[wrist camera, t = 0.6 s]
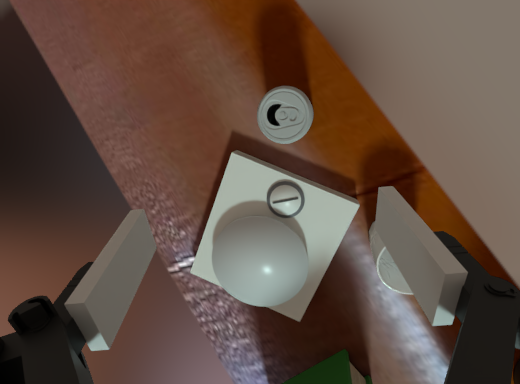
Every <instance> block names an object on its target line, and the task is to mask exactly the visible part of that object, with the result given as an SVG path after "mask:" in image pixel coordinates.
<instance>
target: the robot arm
mask: <svg viewBox="0 0 520 384" xmlns="http://www.w3.org/2000/svg"><path fill="white" fill-rule="evenodd" d="M375 230H376V232H377V233H378V235H379V237H380V238H381V240H382V242H383V243H384V245H385V247H386V248H387V250H388V252H389V254H390V255H391V257H392V259H393V260H394V262H395V264H396V265H397V267H398V269H399V271H400V272H401V274H402V276H403V277H404V279H405V281H406V282H407V284H408V286H409V287H410V289H411V291H412V293H413V294H414V296H415V298H416V299H417V301H418V303H419V304H420V306H421V308H422V309H423V311H424V313H425V315H426V316H427V318H428V320H429V321H430V323H431V325H432V326H441V325H452V323H453V320H454V317H455V314H456V316H457V317H458V319H459V320H460V321H461V323H462V324H461V327H460V330H459V333H458V336H457V339H456V344H455V347H454V351H453V354H452V358H451V361H450V364H449V368H448V371H447V375H446V378H445V382H444V384H511V377H512V368H513V360H514V352H515V348H518V349H520V291H519V290H518V289H517V288H516V287H515V286H514V285H512V284H511V283H509V282H508V281H506V280H503V279H501V278H498V277H494V276H490V275H489V274H488V272H487V271H486V270H485V269H484V268H483V267H482V266H481V265H480V264H479V263H478V262H477V261H476V260H475V259H474V258H473V257H472V256H471V255H470V254H468V251H467V250H466V249H465V248H464V247H462V245H461V244H460V243H459V242H458V241H457V240H456V239H455V238H454V237H452V236H451V235H449V234H447V233H446V232H444V231H439V232H432V230H431V229H430V228H429V227H428V226H427V225H426V224H425V222H424V221H423V220H422V219H421V218H420V217H419V215H418V214H417V213H416V212H415V211H414V210H413V209H412V207H411V206H410V205H409V204H408V203H407V202H406V201H405V199H404V198H403V197H402V196H401V195H400V194H399V192H398V191H397V190H396V189H395V188H394V187H393V186H387V187H379V189H378V199H377V210H376V220H375ZM156 248H157V246H156V243H155V240H154V237H153V234H152V232H151V229H150V226H149V223H148V220H147V217H146V214H145V211H144V209H139V210H131V211H130V212H129V213H128V215H127V216H126V218H125V219H124V220H123V222H122V223H121V225H120V226H119V228H118V229H117V230H116V232H115V233H114V235H113V236H112V237H111V239H110V240H109V242H108V243H107V245H106V246H105V247H104V249H103V250H102V252H101V253H100V254H99V256H98V257H97V259H96V260H95V261H94V262H88V263H87V264H86V265H84V266H83V267H82V268H81V269H79V270H78V271H77V273H76V274H75V275H74V277H73V278H72V280H71V281H70V282H69V284H68V285H67V287H66V288H65V289H64V290H63V291H62V293H61V294H60V295H59V297H58V298H57V300H56V301H55V302H54V304H52V303H51V301H50V299H48V297H47V296H37V297H33V298H31V299H28V300H26V301H24V302H23V303H21V304H20V305H18V306H17V307H16V308H15V309H14V310H13V311H12V312H11V314H10V315H9V317H8V321H9V323H10V324H11V325H12V327H13V328H14V329H15V331H16V332H15V333H12V334H8V335H5V336H2V337H0V384H94V383H93V380H92V377H91V374H90V371H89V368H88V365H87V363H86V360H85V357H84V355H83V353H82V351H81V350H82V348H83V346H84V345H85V343H86V342H87V344H88V346H89V348H90V349H91V351H95V350H109V349H110V347H111V345H112V343H113V341H114V338H115V336H116V334H117V332H118V330H119V328H120V325H121V323H122V321H123V319H124V317H125V315H126V313H127V310H128V308H129V306H130V304H131V302H132V300H133V298H134V295H135V293H136V291H137V289H138V287H139V285H140V283H141V280H142V278H143V276H144V274H145V272H146V270H147V267H148V265H149V263H150V261H151V259H152V257H153V254H154V252H155V250H156ZM514 384H520V359H519V361H518V362H517V364H516V367H515V370H514Z"/></svg>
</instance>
